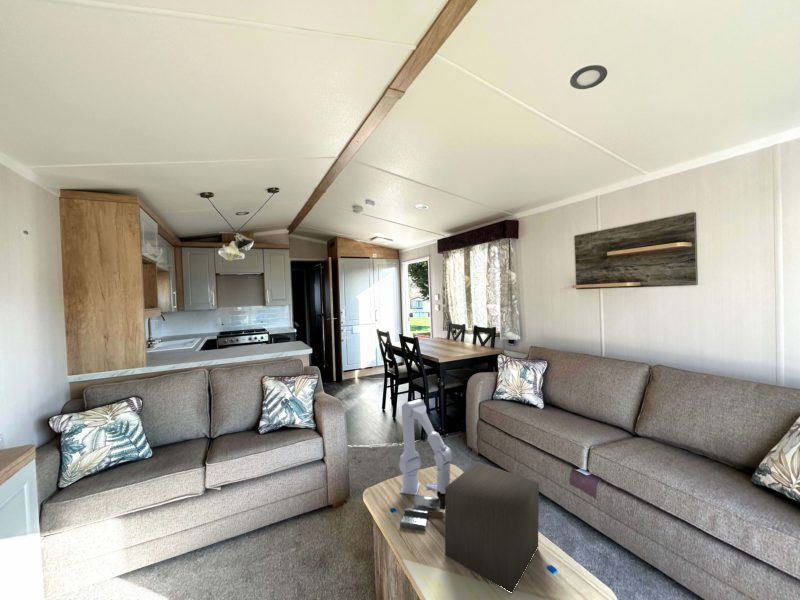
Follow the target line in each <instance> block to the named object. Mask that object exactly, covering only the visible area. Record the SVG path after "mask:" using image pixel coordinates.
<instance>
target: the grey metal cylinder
mask: <svg viewBox="0 0 800 600" xmlns="http://www.w3.org/2000/svg"><path fill="white" fill-rule="evenodd" d="M413 509H415V510H422V511H427V510H431V511H438V512H441V510H440V509H441V506H440V500H439V498H438V497H434V496H427V495H419V494H417V495H414V498H413Z"/></svg>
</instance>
